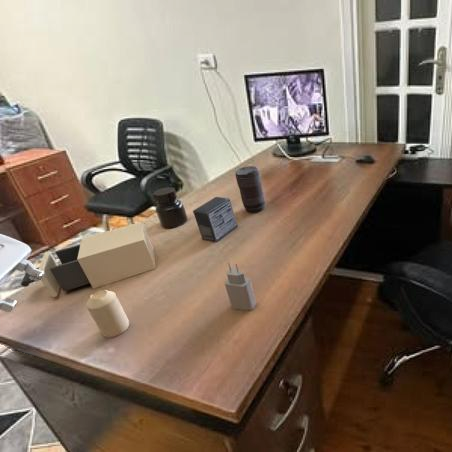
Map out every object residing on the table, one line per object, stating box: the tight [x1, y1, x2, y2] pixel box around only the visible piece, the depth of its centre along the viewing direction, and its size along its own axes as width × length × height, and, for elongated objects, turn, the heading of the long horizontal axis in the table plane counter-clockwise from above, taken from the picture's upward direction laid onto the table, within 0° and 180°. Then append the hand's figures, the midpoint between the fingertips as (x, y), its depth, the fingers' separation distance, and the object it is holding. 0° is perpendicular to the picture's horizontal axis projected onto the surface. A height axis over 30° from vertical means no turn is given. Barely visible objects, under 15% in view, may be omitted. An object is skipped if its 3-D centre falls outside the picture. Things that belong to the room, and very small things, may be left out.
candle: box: [85, 289, 130, 339], centre depth 76 cm, size 6×6×10 cm
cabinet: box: [77, 221, 157, 289], centre depth 98 cm, size 16×13×10 cm
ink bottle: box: [152, 186, 188, 229], centre depth 120 cm, size 10×9×12 cm
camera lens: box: [234, 165, 266, 214], centre depth 123 cm, size 8×8×15 cm
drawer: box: [20, 243, 90, 298], centre depth 94 cm, size 19×11×8 cm, turn 118°
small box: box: [192, 196, 238, 243], centre depth 111 cm, size 11×6×10 cm, turn 154°
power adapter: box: [223, 262, 257, 312], centre depth 79 cm, size 3×5×12 cm, turn 73°
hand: (29, 291), depth 69 cm, fingers open, 8 cm apart
